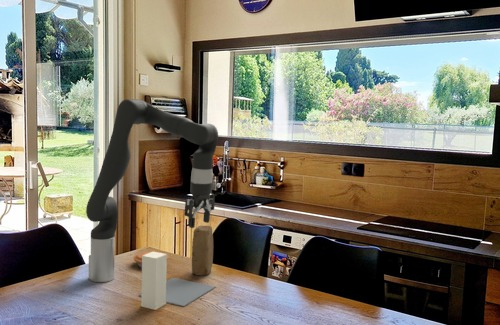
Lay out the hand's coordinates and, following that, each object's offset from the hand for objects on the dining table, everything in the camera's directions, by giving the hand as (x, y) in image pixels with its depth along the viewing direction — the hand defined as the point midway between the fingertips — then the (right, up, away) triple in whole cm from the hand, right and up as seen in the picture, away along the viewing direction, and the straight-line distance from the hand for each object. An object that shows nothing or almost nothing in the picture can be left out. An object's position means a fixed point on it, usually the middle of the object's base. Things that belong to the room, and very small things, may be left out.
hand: (198, 224), depth 163 cm
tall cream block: (-16, -28, -3) cm, 32 cm away
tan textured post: (-2, -25, +33) cm, 42 cm away
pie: (-26, -24, +42) cm, 55 cm away
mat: (-9, -27, +10) cm, 30 cm away
